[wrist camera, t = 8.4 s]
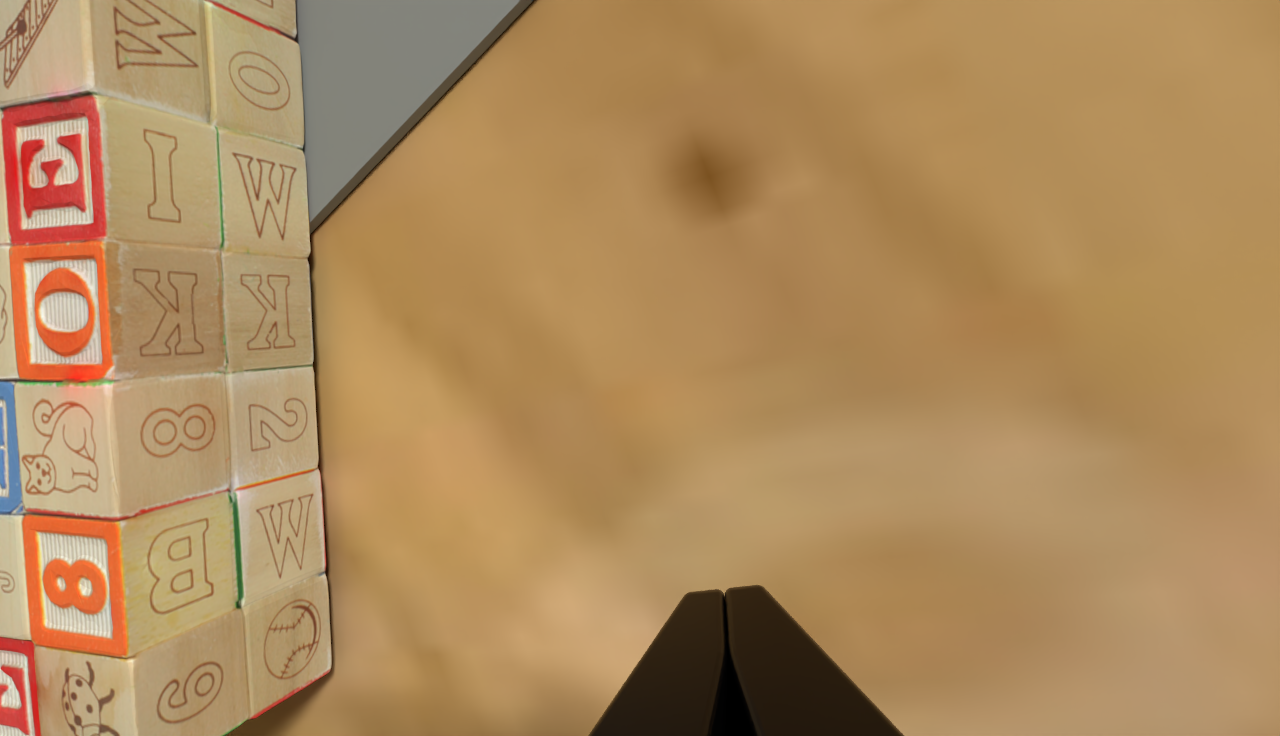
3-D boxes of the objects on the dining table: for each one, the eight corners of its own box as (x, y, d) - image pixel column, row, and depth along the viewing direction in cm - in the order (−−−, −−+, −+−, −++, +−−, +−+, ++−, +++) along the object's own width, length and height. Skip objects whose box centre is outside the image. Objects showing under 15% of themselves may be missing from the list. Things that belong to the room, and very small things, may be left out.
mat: (668, -142, 18) (663, -152, 18) (118, 434, 26) (107, 436, 25) (378, -488, 20) (368, -503, 20) (-57, 137, 27) (-71, 135, 27)
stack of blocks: (304, -75, 21) (3, -7, 25) (75, -223, 16) (-269, -105, 20) (334, 676, 23) (44, 627, 27) (133, 802, 17) (-201, 715, 21)
